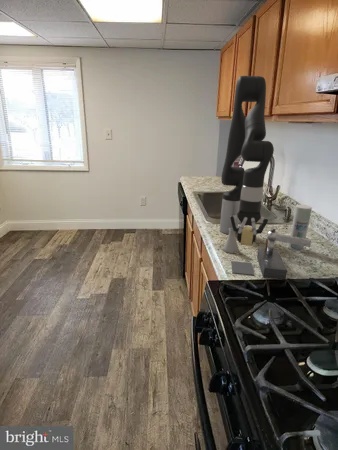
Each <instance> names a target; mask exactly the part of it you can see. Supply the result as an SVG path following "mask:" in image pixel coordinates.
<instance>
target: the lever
mask: <svg viewBox="0 0 338 450" xmlns="http://www.w3.org/2000/svg"><path fill="white" fill-rule="evenodd" d="M267 239H268V240H271V241H275V242H280V243H286V244H289V243H290V244H295V245H301V246H304V247H306V248H310V247H311V245H312V239H311V238H300V237H294V236H291V235H289V234H283V233H282V234H281V233H279V232H278V231H276V228H271V229H270V230H268V231H267Z"/></svg>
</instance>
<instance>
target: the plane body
mask: <svg viewBox="0 0 338 450" xmlns="http://www.w3.org/2000/svg"><path fill="white" fill-rule="evenodd" d="M275 242H276V241H271V240H268V239H267V238H265V244H264V248H258V249H257V254H256V258H257V262H258V265H259V268H260V273H261V276H262V278H263V279H270V280H271V279H272V280H280V281H281V280H282V279H287V275H288V268H287V267H286V264H285V263H284V262H285V261H284V260H283V258H282V256H281V254H280V252H279V250H278V249H277V250H276V249H274V248H275Z"/></svg>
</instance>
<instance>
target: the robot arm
mask: <svg viewBox="0 0 338 450" xmlns="http://www.w3.org/2000/svg"><path fill="white" fill-rule="evenodd" d="M234 92H235V93H234V99H233V100H234V101H233V108H232V109H233V111H232V116H231V117H232V118H231V123H230V128H229V132H228V138H227V145H226V146H227V148H226V155H225V159H224V164H223V167H222V171H221V179H220V180H221V181H220V182H221V184H222V185H223V186H229V187H231V186H232V187H234V188H232V189H231V190H228V191H227V190H226V191H224V192H223V194H222V200H221V201H222V202H221V211H220V222H219V223H220V224H219V232H220V233H223V234H227V235H229V228H233V231H234V232H235V234H237V235H236V242H237V243H239V244H240V243H241V235H242V234H241V232H242V229H243V228H244V227H245V226H249V227H251V228H252V229H253V232H254V233H253V240H252V245H253V244H254V243H256V238H257V235H258V234H259V235H260V234H262V233H263V231H264V229H265V227H266V226H267V224H268V218H267V217H266V216H265V217H263V216H262V215H261V209H262V201H263V195H264V182H265V175H266V172H267V170H268V167H269V164H270V163H271V160H272V159H273V155H274V152H275V150H274V149H275V148H274V144H273V143H272V142H271V141H269V140H265V139H266V137H267V136H266V135H267V129H266V121H265V120H266V119H265V110H266V100H267V99H266V97H267V96H266V95H267V94H266V93H267V81H266V78H265V77H263V76H261V75H240V76H239V77H238V78H237V80H236V84H235V91H234ZM243 102H246V103H255V105H254V106H253V107H252V108H251V110H250V111H249V112H248V113H247V115H246V116H245V113H244V109H243ZM240 156H241V158H242V160H244V161H245V162H257V163H259V164H258V165H257V166H255V167H250V168H246V169H245V168H244V167H242V166H233V164H234V163H235V162H236V160H238V158H239V157H240ZM258 222H260V224H259V226H258V228H257V227H256V225H257V223H258Z"/></svg>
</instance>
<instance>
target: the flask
mask: <svg viewBox="0 0 338 450" xmlns="http://www.w3.org/2000/svg"><path fill="white" fill-rule="evenodd" d="M221 250H222V251H223V252H225V253H230V254H235V253H239V246H238V241H237V237H236V233H235V232H234V231H233V228H229V234H227V239H226V241H225V243H224V244H223V246H222V248H221Z"/></svg>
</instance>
